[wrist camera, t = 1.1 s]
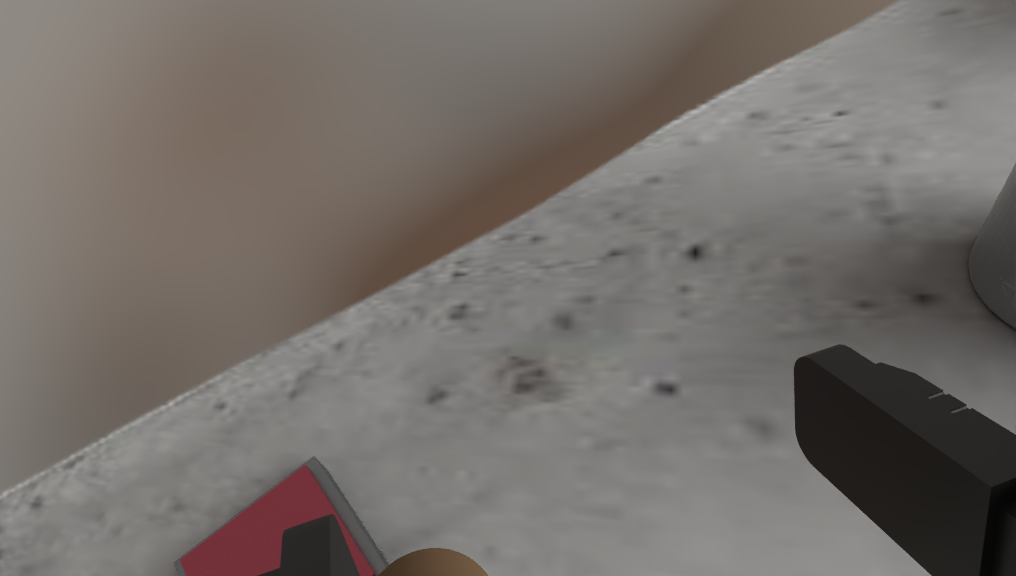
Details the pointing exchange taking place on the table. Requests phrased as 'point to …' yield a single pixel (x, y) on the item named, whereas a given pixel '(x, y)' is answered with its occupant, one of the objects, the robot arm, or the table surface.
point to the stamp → (434, 564)
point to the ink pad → (281, 529)
